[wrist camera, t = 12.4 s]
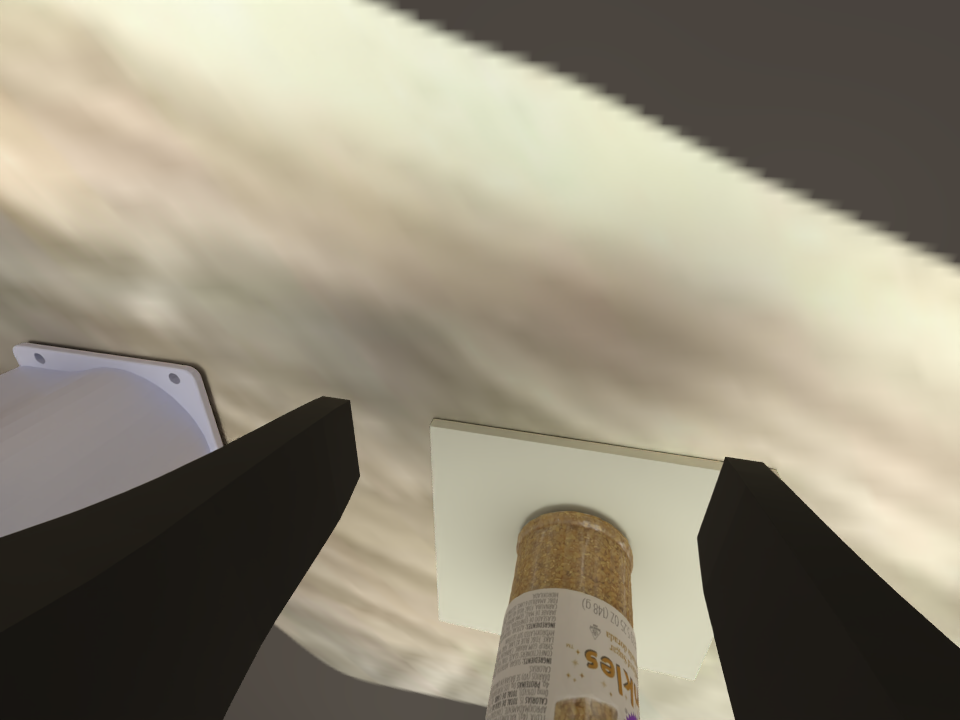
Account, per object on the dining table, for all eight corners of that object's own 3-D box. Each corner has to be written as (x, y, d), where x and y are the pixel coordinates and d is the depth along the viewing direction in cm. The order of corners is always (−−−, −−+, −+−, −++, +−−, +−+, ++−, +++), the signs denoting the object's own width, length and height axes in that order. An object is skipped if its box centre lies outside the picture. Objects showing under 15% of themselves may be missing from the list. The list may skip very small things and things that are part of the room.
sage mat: (441, 611, 24) (438, 620, 23) (433, 418, 18) (429, 426, 17) (692, 669, 21) (694, 681, 21) (776, 469, 16) (781, 480, 15)
